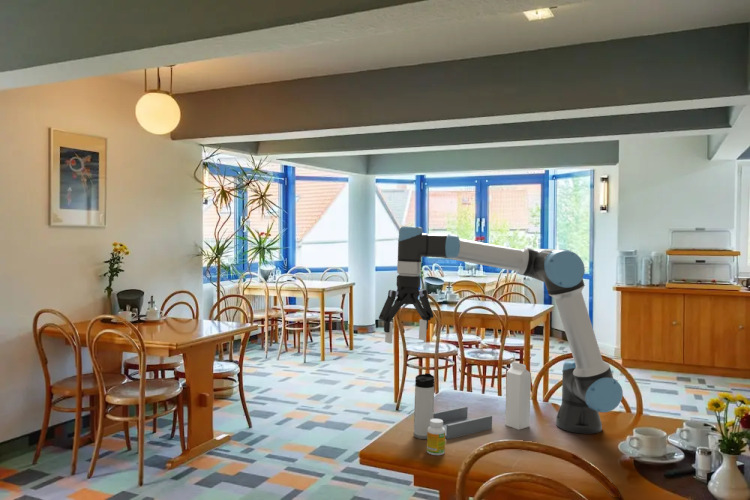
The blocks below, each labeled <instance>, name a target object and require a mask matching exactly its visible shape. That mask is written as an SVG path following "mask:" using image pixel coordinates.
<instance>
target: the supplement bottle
mask: <svg viewBox="0 0 750 500" xmlns="http://www.w3.org/2000/svg"><path fill="white" fill-rule="evenodd" d="M442 426H443V420H441V419H431V420H430V427H428V430H427V439H426V452H427V453H428V454H429V455H432V456H442V455H444V454H445V450H446V447H445V446H446V438H445V429H444V428H443V427H442Z"/></svg>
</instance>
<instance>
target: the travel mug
mask: <svg viewBox="0 0 750 500" xmlns="http://www.w3.org/2000/svg"><path fill="white" fill-rule="evenodd" d="M414 378H415V381H414V410H413V411H414V412H413V413H414V414H413V415H414V417H413V421H414V422H413V436H414V438H417V439H419V440H427V430H428V427H430V420H431V419H433V416H434V413H435V412H434V408H435V405H434V403H435V376H434V375H432V373H421V374H418V375H417V374H416V376H415V377H414Z"/></svg>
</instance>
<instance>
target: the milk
mask: <svg viewBox="0 0 750 500" xmlns="http://www.w3.org/2000/svg"><path fill="white" fill-rule="evenodd" d="M531 382H532V373H531V372H530V370H528V369H527V366H526V364H523V363H519V362H516V361H512V362H511V366H510V367H509V369H508V370H507V371H506V381H505V385H506V386H505V411H504V412H505V416H504V417H505V418H504V425H505V426H506V427H510V428H513V429H515V430H522V429H526V428H529V427H530V421H531V420H530V418H531V417H530V416H531V414H530V413H531V389H532V387H531V386H532V385H531V384H532V383H531Z"/></svg>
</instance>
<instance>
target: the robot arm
mask: <svg viewBox="0 0 750 500" xmlns="http://www.w3.org/2000/svg"><path fill="white" fill-rule="evenodd" d="M422 258H441V259H446V260H447V259H448V260H453V261H459V262H463V263H469V264H475V265H482V266H486V267H491V268H496V269H503V270H508V271H512V272H517V273H518V275H520V276H525V277H529V278H531V279H535V280H538V281H541V282H543V283H544V284H545V288H546V290H547V294H548V296H550V297H552V298H553V299H554V301H555V303H556V308H557V309H558V312H559V317H560V320H561V323H562V327H563V329H564V332H565V336H566V338H567V342H568V345H569V349H570V352H571V355H572V357H573V358H572V359H573V360H568V361H567V360H566V361H565V362H564V363H563V366H562V371H561V372H562V377H561V378H562V384H561V387H562V388H561V404H560V407H559V408H558V412H557V414H556V419H555V425H556V426H557V427H558V428H559V429H561V430H564V431H566V432H571V433H575V434H576V433H577V434H585V435H591V434H593V435H594V434H598V433H600V432H602V430H603V429H602V428H603V426H602V425H603V424H602V420H601V417H600V413H608V412H611V411H614V410H615V409H617V407H618V406H619V405H620V403H621V402H622V400H623V394H624V393H623V388H622V386H621V384H620V382H619V381H618V380H616V379H615V378H614V375H613V372H612V369H611V367H610V364H609V363H608V362H606V361H604V360H603V357H602V354H601V353H602V352H601V350H600V348H599V344H598V341H597V338H596V334H595V331H594V327H593V324H592V321H591V319H590V315H589V312H588V308H587V306H586V301H585V298H584V295H583V289H584V287H585V285H586V284H585V282H584V279H583V278H584V276H585V273H586V272H585V271H586V268H585V264H584V261H583V259H582V258H581V257H580V256H579V255H578V254H577V253H575V252H574V251H572V250H569V249H564V248H554V249H553V248H530V247H523V248H522V249H518V248H514V247H508V246H503V245H496V244H491V243H485V242H480V241H476V240H475V241H474V240H469V239H464V238H460V237H459V236H458V235H457V234H452V233H451V234H450V233H448V234H447V233H426V232H425V233H424V231H423V227H421V226H406V225H405V226H401V227H400V228H399V230H398V240H397V264H396V265H397V267H396V273H397V275H396V285H395V286H396V288H397V289H396V290H395V289H394V290H392V289H389V290H388V293H387V298H386V300H385V303H384V305H383V307H382V308H381V309H382V310H381V311H380V314H379V315H378V319H379V320H380V321H382V322H383V324H384V325H383V332H384V333H385V336H384V337H385V338H384V342H385V343H387V344H393V332H394V331H393V329H394V322H392V320H393V319H394V317H395V316H396V315H397V314H398V312H399V310H400V309H401V307H403V306H404V305H413V307H414V308H415V310H416V311H417V313H418V315H419V316H420V318H421V319H419V329H418V330H419V331H418V340H421V341H426V340H427V330H428V328H429V321H431V319H433V318H434V312H433V310H432V307H431V304H430V302H429V298H428V291H427V290H426V289H419V288H420V287H421V276H420V275H421V273H422V272H421V270H422ZM419 298H420V299H419Z"/></svg>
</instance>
